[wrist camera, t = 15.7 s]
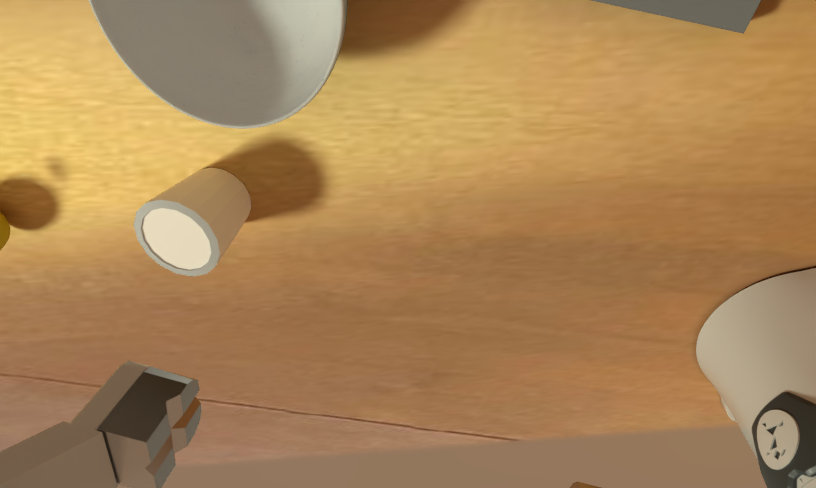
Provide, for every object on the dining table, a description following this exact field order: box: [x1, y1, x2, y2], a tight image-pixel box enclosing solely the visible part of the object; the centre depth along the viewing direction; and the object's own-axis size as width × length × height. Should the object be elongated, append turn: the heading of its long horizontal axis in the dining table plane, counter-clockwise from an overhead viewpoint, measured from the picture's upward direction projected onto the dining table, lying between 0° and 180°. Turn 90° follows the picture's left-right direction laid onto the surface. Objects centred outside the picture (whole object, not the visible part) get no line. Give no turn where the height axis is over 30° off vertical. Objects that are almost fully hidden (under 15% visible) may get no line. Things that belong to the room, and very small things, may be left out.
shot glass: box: [134, 167, 252, 276], centre depth 42 cm, size 7×7×7 cm
